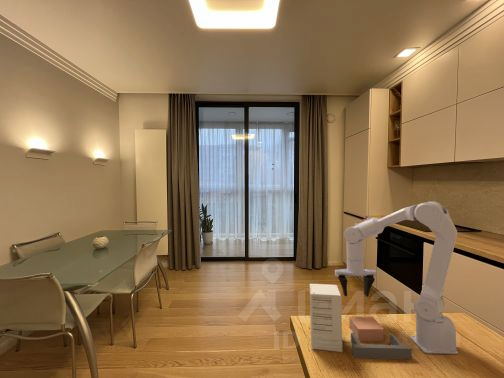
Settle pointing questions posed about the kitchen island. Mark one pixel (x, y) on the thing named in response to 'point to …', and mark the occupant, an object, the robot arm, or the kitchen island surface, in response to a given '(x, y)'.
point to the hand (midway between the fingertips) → (355, 295)
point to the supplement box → (325, 317)
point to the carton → (366, 329)
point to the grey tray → (381, 349)
